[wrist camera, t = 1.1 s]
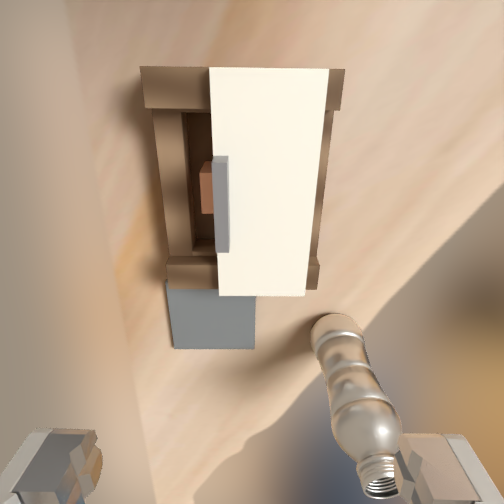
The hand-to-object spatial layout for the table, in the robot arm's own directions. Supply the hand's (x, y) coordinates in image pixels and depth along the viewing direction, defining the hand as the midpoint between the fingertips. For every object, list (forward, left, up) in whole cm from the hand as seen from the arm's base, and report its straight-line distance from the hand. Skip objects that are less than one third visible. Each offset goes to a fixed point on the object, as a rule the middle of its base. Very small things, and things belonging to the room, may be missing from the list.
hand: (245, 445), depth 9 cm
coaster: (+20, -4, -29) cm, 36 cm away
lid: (+2, +2, -24) cm, 24 cm away
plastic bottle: (+22, +12, -30) cm, 38 cm away
